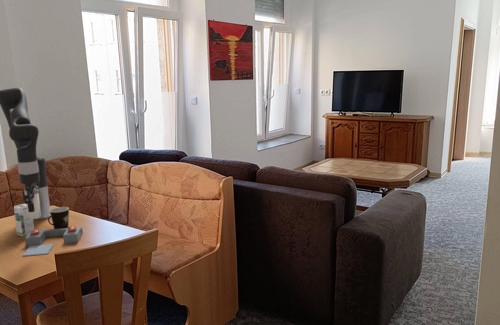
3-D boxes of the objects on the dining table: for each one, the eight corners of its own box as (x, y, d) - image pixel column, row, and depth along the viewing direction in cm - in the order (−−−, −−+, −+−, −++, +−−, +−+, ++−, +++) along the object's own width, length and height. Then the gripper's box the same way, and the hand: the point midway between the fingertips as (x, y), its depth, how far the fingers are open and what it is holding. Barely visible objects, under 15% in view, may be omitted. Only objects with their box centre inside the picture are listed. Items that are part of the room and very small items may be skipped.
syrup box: (16, 234, 190) (12, 206, 187) (28, 230, 195) (24, 203, 192) (23, 237, 187) (20, 208, 184) (35, 232, 193) (31, 204, 190)
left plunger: (32, 238, 183) (31, 229, 182) (41, 237, 183) (40, 228, 182) (30, 241, 179) (29, 232, 178) (38, 240, 180) (37, 231, 179)
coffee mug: (65, 224, 204) (63, 205, 202) (73, 227, 199) (71, 209, 197) (42, 230, 195) (40, 211, 193) (50, 234, 190) (48, 215, 188)
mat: (30, 246, 176) (30, 245, 176) (54, 244, 179) (54, 243, 178) (22, 256, 167) (22, 255, 167) (47, 254, 169) (47, 253, 169)
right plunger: (69, 235, 186) (68, 226, 185) (77, 234, 186) (76, 226, 186) (67, 238, 182) (66, 229, 181) (75, 237, 183) (75, 228, 182)
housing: (34, 236, 188) (33, 228, 187) (82, 232, 192) (82, 225, 192) (26, 246, 177) (25, 237, 176) (77, 241, 181) (77, 233, 181)
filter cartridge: (29, 215, 172) (26, 189, 169) (43, 214, 173) (40, 188, 170) (25, 219, 166) (22, 192, 164) (39, 218, 168) (36, 191, 165)
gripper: (25, 168, 171) (29, 205, 175) (12, 176, 158) (18, 216, 161) (43, 167, 173) (47, 204, 176) (33, 175, 159) (38, 214, 163)
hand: (33, 209), depth 169 cm, fingers closed on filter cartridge, 5 cm apart
